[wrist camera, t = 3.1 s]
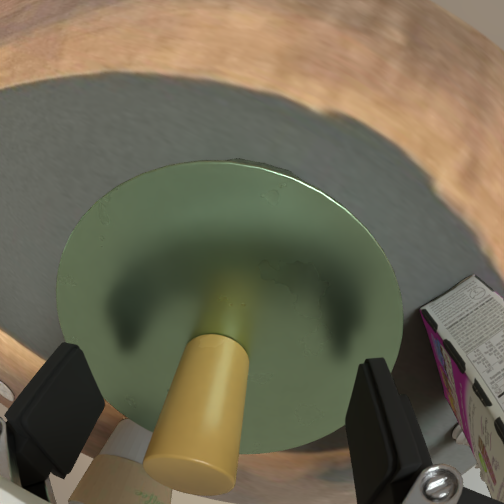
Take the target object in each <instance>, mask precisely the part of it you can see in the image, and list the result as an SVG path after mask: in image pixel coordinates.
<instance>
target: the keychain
mask: <svg viewBox="0 0 504 504" xmlns="http://www.w3.org/2000/svg"><path fill="white" fill-rule="evenodd" d="M5 391H6V392H7V393H6V392H5ZM0 394H1V395H2V396H4V397H5V398H7V399H8V400H10V401H13V400H14V395H13V393H12V392H11V391H10V389H9V388H8V387H7V386H6V385H5V384H3V383H2V382H1V381H0Z"/></svg>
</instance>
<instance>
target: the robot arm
mask: <svg viewBox="0 0 504 504" xmlns="http://www.w3.org/2000/svg"><path fill="white" fill-rule="evenodd" d="M104 405H105V402H104V398H103V396H102V394H101V392H100V390H99V388H98V386H97V383H96V381H95V379H94V377H93V374H92V372H91V370H90V367H89V365H88V363H87V360H86V358H85V355H84V353H83V351H82V350H81V349H80V347H79V346H78V345H76V344H71V343H65V342H64V343H62V344H61V345H60V346H59V347H58V348H57V349H56V351H55V352H54V353H53V354H52V355H51V356H50V358H49V359H48V360H47V361H46V362H45V364H44V365H43V366H42V367H41V368H40V370H39V371H38V372H37V373H36V375H35V376H34V377H33V378H32V380H31V381H30V382H29V383H28V385H27V386H26V387H25V388H24V390H23V391H22V392H21V394H20V395H19V396H18V397H17V399H16V400H15V401H14V403H13V404H12V405H11V407H10V408H9V409H8V411H7V412H6V414H5V417H6V418H7V422H5V421H4V420H3V418H1V417H0V504H56V500H55V497H54V494H53V490H52V487H51V483H50V479H49V474H50V472H51V473H52V474H54V475H56V476H58V477H60V478H62V479H64V478H65V477H66V475H67V474H69V473H70V472H71V470H72V468H73V466H74V464H75V462H76V460H77V458H78V456H79V454H80V453H81V451H82V449H83V447H84V445H85V443H86V441H87V439H88V437H89V435H90V433H91V431H92V429H93V428H94V426H95V424H96V422H97V420H98V418H99V416H100V414H101V413H102V411H103V409H104ZM345 426H346V432H347V438H348V444H349V450H350V457H351V463H352V469H353V476H354V483H355V490H356V498H357V504H504V503H503V502H500V501H498V500H495V499H492V498H490V497H487V496H484V495H482V494H480V493H477V492H475V491H472V490H470V489H467V488H465V487H463V479H462V476H461V474H460V473H459V472H458V471H457V470H456V468H454V467H452V466H450V465H446V464H435V465H433V464H432V461H431V458H430V455H429V452H428V449H427V446H426V443H425V440H424V437H423V435H422V432H421V429H420V426H419V424H418V421H417V418H416V416H415V413H414V410H413V408H412V405H411V403H410V400H409V398H408V397H407V396H406V395H399V394H398V391H397V389H396V386H395V383H394V381H393V378H392V376H391V373H390V371H389V368H388V366H387V363H386V361H385V359H384V358H383V357H381V358H369V359H366V360H365V361H364V363H363V364H359V366H358V370H357V375H356V379H355V383H354V387H353V391H352V395H351V398H350V402H349V406H348V409H347V413H346V417H345Z"/></svg>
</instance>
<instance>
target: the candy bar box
mask: <svg viewBox="0 0 504 504" xmlns="http://www.w3.org/2000/svg"><path fill="white" fill-rule="evenodd" d="M420 313H421V316H422V319H423V322H424V325H425V328H426V331H427V334H428V337H429V340H430V343H431V347H432V350H433V353H434V357H435V360H436V363H437V367H438V371H439V375H440V379H441V382H442V386H443V390H444V395H445V398H446V399H447V401H448V403H449V405H450V407H451V409H452V411H453V413H454V415H455V416H456V418H457V421H458V423H459V425H460V427H461V429H462V431H463V433H464V435H465V437H466V439H467V441H468V443H469V445H470V448H471V450H472V452H473V454H474V457H475V459H476V461H477V464H478V466H479V468H480V470H481V473H482V475H483V478H484V480H485V483H486V484H487V488H488V490H489V492H490V495H491V498H492V499H495V500H498V501H500V502H503V503H504V299H503V298H502V297H501V296H500V295H499V294H498V293H497V292H495V291H494V290H493V289H492V288H491V287H489V286H488V285H487V284H486V283H485V282H484V281H482V280H481V279H480V278H479V277H477V276H476V275H475V274H473V275H471V276H469V277H467V278H466V279H464V280H462V281H461V282H460V283H458V284H457V285H456V286H454V287H453V288H452V289H450V290H449V291H447V292H446V293H444V294H442V295H441V296H439V297H437V298H436V299H434V300H432V301H431V302H429V303H428V304H426V305H424V306H423V307H421V308H420Z"/></svg>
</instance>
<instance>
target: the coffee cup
mask: <svg viewBox="0 0 504 504" xmlns="http://www.w3.org/2000/svg"><path fill="white" fill-rule="evenodd" d="M152 434H153V432H150V431H148V430H147V429H145V428H143V427H141V426H140V425H138V424H136V423H135V422H133V421H132V420H130V419H124V420H122V421H120V422H119V424H118V425H117V427H116V428H115V430H114V431H113V433H112V434H111V436H110V437H109V439H108V441H107V442H106V444H105V445H104V447H103V448H102V450H101V452H100V453H99V455H97V456H96V457H95V458H94V459H93V461H92V463H91V464H90V466H89V467H88V469H87V471H86V472H85V474H84V476H83V477H82V479H81V480H80V482H79V484H78V485H77V487H76V489H75V490H74V492H73V493H72V495H71V496H70V498H69V500H68V502H69V504H171V496H172V489H171V488H169V487H166V486H164V485H162V484H160V483H159V482H157V481H155V480H154V479H152V478H151V477H150V476H149V475H148V474H147V473H146V472H145V470H144V468H143V459H144V456H145V453H146V451H147V448H148V445H149V442H150V439H151V437H152Z"/></svg>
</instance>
